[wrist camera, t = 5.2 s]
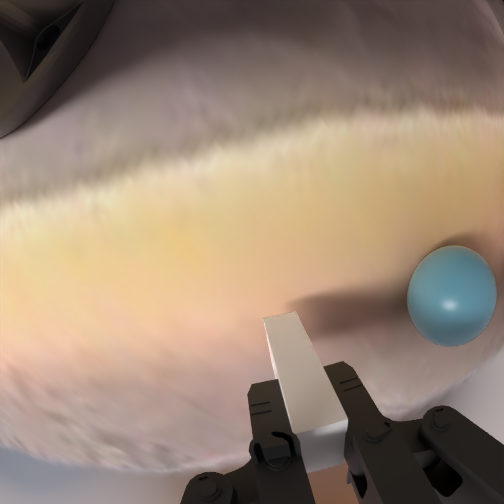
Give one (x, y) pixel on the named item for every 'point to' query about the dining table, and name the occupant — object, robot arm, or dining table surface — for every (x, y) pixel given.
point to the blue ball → (451, 295)
